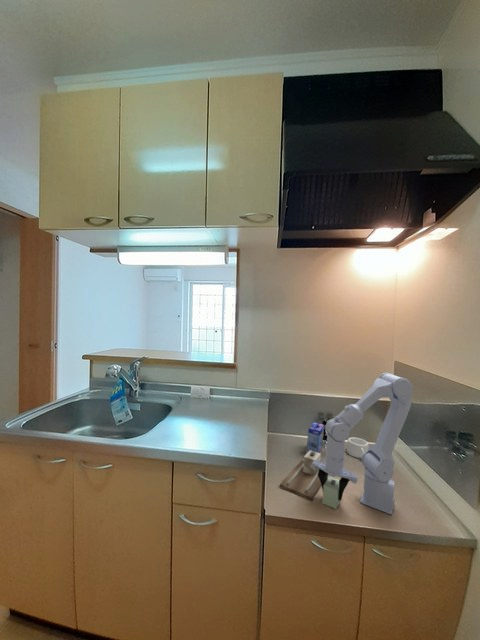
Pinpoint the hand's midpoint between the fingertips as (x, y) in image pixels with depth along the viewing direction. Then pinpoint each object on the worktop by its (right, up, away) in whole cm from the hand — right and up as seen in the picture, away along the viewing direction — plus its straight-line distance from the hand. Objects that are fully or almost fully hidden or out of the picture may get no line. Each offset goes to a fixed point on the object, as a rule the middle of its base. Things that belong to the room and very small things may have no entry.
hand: (332, 495), depth 94 cm
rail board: (-6, -1, +12) cm, 14 cm away
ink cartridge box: (+3, -2, +35) cm, 35 cm away
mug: (+23, -3, +35) cm, 42 cm away
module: (0, -2, 0) cm, 2 cm away
